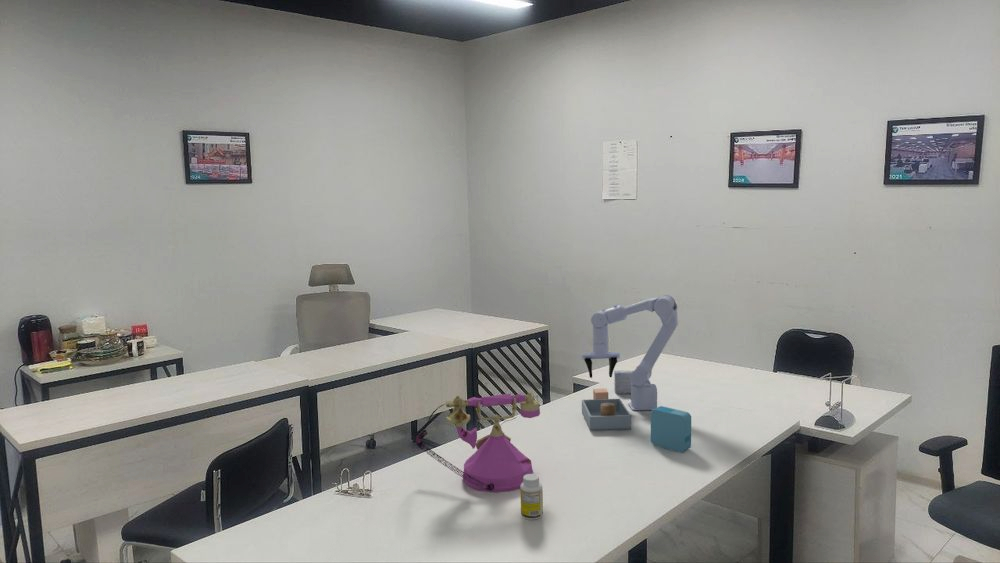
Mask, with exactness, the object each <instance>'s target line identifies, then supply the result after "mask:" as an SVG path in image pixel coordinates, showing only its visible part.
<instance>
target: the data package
mask: <svg viewBox="0 0 1000 563" xmlns="http://www.w3.org/2000/svg"><path fill="white" fill-rule="evenodd" d="M650 443H651V444H652V445H653V446H656V447H658V448H663V449H666V450H670V451H673V452H677V453H679V454H680V453H684V452H685V451H687V450H689V449H690V448H691V446H692V415H691V414H690V413H689V412H688V411H685V410H680V409H675V408H671V407H667V406H663V405H661V406H657V408H655V409H653V410H650Z"/></svg>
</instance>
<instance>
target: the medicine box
mask: <svg viewBox="0 0 1000 563" xmlns="http://www.w3.org/2000/svg"><path fill="white" fill-rule="evenodd" d="M632 371H633V370H622V369H621V370H613V373H614V378H613V379H614V383H613V384H614V393H615V394H631V381H630V374H631V373H632Z"/></svg>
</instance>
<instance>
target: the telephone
mask: <svg viewBox="0 0 1000 563" xmlns="http://www.w3.org/2000/svg"><path fill="white" fill-rule="evenodd" d="M532 393H533V392H532V391H527V394H526V395H525V394H521V393H517V394H516V395H515V394H512V395H511V393H503V394H497V395H489V396H488V395H486V396H481V397H475V396H473V397H471V398H470V397H469V398H468V399H463V398H461V397H460V395H456V397H455V398H453V400H449V401H445V403H443V404H441V405H439V406H438V407H437V408H436V409H434V410H433V412H432V413H431V414H430V416H429V418H428V421H427V422H426V424H425V427H424V429H422V431H420V433H418V435H417V436H416V439H415V444H416V445H417V447H418V448H420V449H421V451H423V452H425V453H426V454H427V455H429V456H430V457H432V458H433V459H434V460H436V461H437V462H439V463H440V464H441V465H443V466H444V467H446V468H447V469H449V470H450V471H452V472H453V473H455V474H456V475H458V476H459V477H461V478H463V480H464V481H465V483H466V484H467V485H468V487H469V488H472V489H474V490H477V491H481V492H489V493H490V492H491V493H505V492H511V491H516V490H519V489H520V486H521V484H522V483H523V476H524V475H526V474H535V473H534V470H533V464H532V460H531V459H530V458H529V457H527V456H526V455H525V454H524V453H522V452H521V450H520V449H518V448H517V447H516V446H515V445H514V444H513V443H512V442H511V440H512V438H511V437H509V436H508V435H506V434H505V432H503V429H502V427H501V426H502V425H503V424H504V423H505V422H509V421H512V420H515V419H517V417H514V416H515V414H516V411H517V410H518V409H517V407H518V405H517V404H519V406H520V409H519V415H520V416H521V417H523V418H527V419H533V418H536V417H540V415H541V409H540V407H541V406H540V401H539V400H536V399H535V395H533V394H532ZM506 405H511V411H512V412H511V413H512V414H511V415H506V416H500V415H498V414H495V415H493V417H491V416H490V417H481V415H482V412H481V411H482V408H485V407H495V406H506ZM443 406H445V407H446V408H454V409H453V411H452V412H451V413H450V414H449V415H447V416H446V417H445V418H446V421H447V422H448V423H449V425H454V426H455V427H456V433H457V434H458V437H459V438H460V439H461V440H462V441H463V442H466V443H467V444H469V445H470V446H471V448H472V450H474V449H475V448H476V451H475V452H474V453H473V454H472V455H470V456H469V458H467V459H466V460H465V462H464V463H463V470H462V469H460V468H458V467H456V466H455V465H453V463H451V462H449V461H447V460H446V459H445V458H444V457H442V456H441V455H439V454H437V453H436V452H435V451H433V449H431V448H430V447H428V446H426V445H425V444H424V443H423V442H422V440H423V438H424V437H425V436H427V435H428V431H427V430H426V428H427V425H428V424H429V421H430V419H431V418H432V417H433V415H434V413H435V412H436V411H437V410H438V409H440V408H441V407H443ZM466 406H471V407H472V406H473V407H474V408H475V410H476V415H477V417H478V419H477V420H476V421H477V422H479V423H482V421H483V423H486V424H487V423H488V424H490V425H492V428H491V432H490V433H489V434H486V435H485V436H482V438H481V437H480V438H479V439H478V432H477V431H478V430H477V427H475V428H473V429H472V430H467V429H465V428H463V427H462V426H463V425H467V424H468V423H469V421H470V420H471V415H470V414H467V413H466V412H465V411H464V410H463V407H466ZM481 407H482V408H481ZM510 418H511V419H510ZM501 419H508V420H504V421H503V422H502V423H501V424H500V420H501ZM490 421H494V423H493V424H492V423H491V422H490Z"/></svg>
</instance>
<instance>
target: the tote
mask: <svg viewBox="0 0 1000 563" xmlns="http://www.w3.org/2000/svg"><path fill="white" fill-rule="evenodd" d="M602 403H613V404H615V416H601V404H602ZM581 414H582V416H584V417H583V418H584V421H585V424H586V425H587V428H588V427H589V428H588V429H589V431H590V432H596V431H597V432H599V431H601V432H602V431H603V432H604V431H628V430H630V431H632V414H631V413H630V412H629V410H628V409H627V407H626V406H625V404H624V403H623V400H621V398H608V399H593V398H592V399H581Z"/></svg>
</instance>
